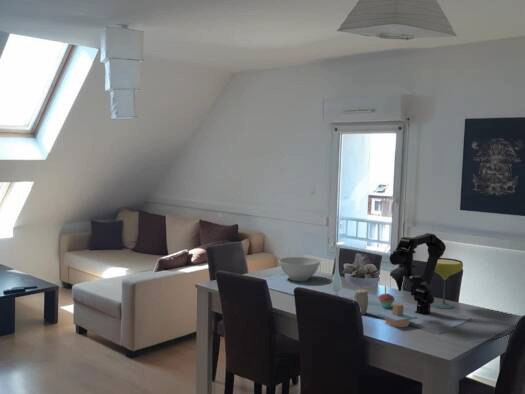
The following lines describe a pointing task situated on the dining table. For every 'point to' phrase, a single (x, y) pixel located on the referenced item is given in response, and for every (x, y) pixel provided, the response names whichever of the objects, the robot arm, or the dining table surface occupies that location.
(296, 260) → the decorative bowl
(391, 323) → the bowl
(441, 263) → the cocktail glass
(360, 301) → the carving
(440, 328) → the mat
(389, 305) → the cupcake
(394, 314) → the cover
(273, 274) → the dining table surface
